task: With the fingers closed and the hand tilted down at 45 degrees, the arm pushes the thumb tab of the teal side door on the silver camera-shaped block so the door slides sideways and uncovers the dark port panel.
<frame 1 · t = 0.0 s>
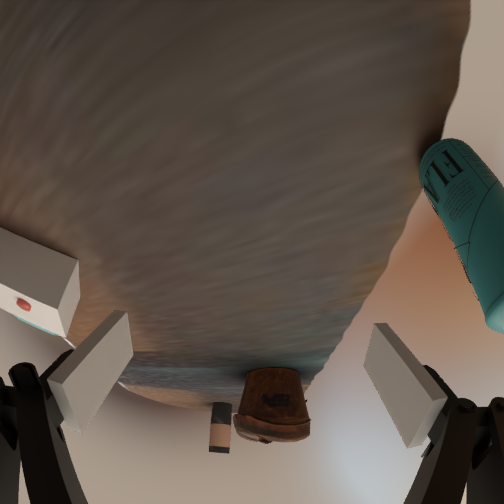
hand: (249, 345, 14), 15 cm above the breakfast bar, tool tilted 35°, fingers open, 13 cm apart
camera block: (32, 260, 36), on the breakfast bar
brown tapered cylinder: (273, 374, 67), on the breakfast bar
travel mug: (222, 403, 99), on the breakfast bar
beverage bottle: (438, 157, 22), on the breakfast bar
door: (42, 309, 39), point 4 cm above the breakfast bar, slide at 0.0 cm
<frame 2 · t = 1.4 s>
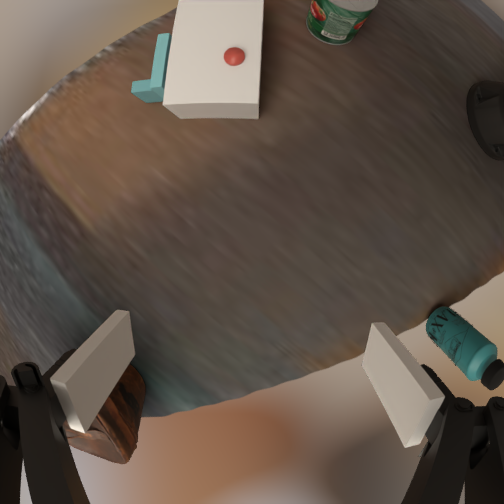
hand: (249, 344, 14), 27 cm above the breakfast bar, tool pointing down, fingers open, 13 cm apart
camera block: (222, 62, 35), on the breakfast bar
canned tomato: (330, 26, 33), on the breakfast bar
brown tapered cylinder: (114, 378, 48), on the breakfast bar
beverage bottle: (434, 318, 43), on the breakfast bar
door: (157, 70, 32), point 4 cm above the breakfast bar, slide at 0.0 cm
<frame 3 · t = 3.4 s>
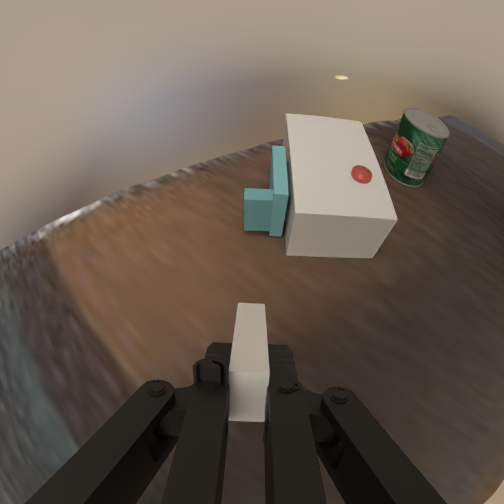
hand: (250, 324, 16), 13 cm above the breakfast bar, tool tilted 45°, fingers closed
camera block: (323, 200, 39), on the breakfast bar
canned tomato: (403, 171, 43), on the breakfast bar
door: (264, 190, 34), point 4 cm above the breakfast bar, slide at 0.0 cm
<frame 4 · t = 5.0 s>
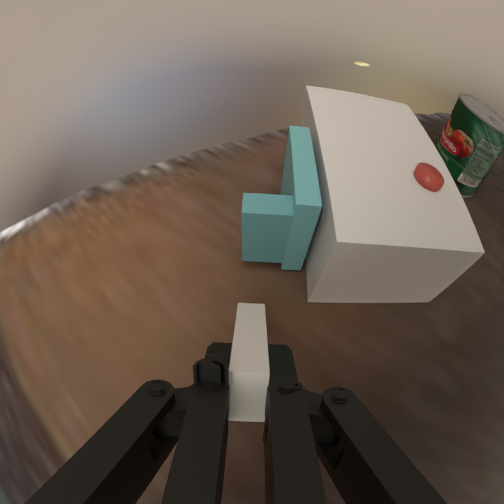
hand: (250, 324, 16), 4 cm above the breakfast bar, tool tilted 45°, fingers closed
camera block: (358, 213, 26), on the breakfast bar
canned tomato: (451, 177, 31), on the breakfast bar
door: (276, 196, 21), point 4 cm above the breakfast bar, slide at 0.0 cm
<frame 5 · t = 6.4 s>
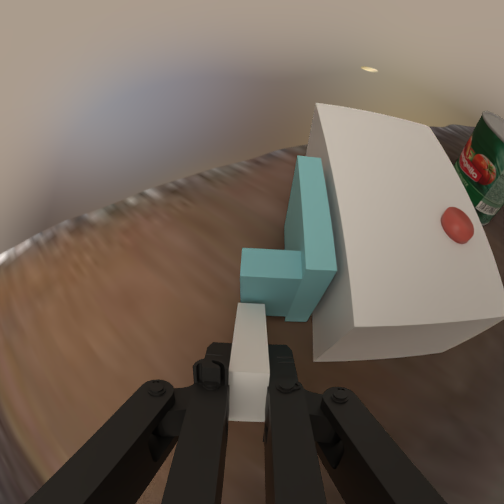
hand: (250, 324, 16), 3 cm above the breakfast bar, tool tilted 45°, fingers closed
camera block: (371, 252, 23), on the breakfast bar
canned tomato: (467, 201, 28), on the breakfast bar
door: (280, 241, 18), point 4 cm above the breakfast bar, slide at 0.3 cm, touching gripper
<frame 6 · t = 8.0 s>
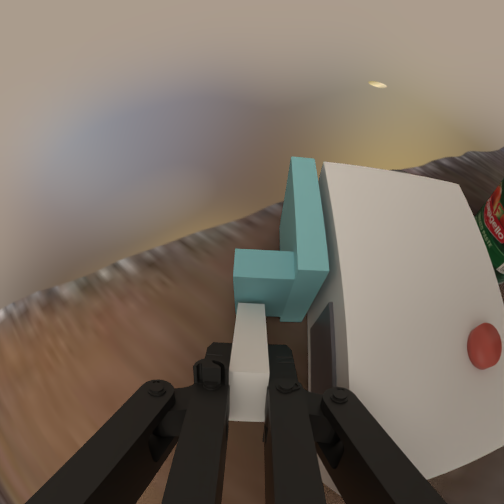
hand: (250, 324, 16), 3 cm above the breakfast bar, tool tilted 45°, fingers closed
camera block: (379, 341, 19), on the breakfast bar
canned tomato: (485, 254, 24), on the breakfast bar
door: (274, 241, 19), point 4 cm above the breakfast bar, slide at 7.9 cm, touching gripper
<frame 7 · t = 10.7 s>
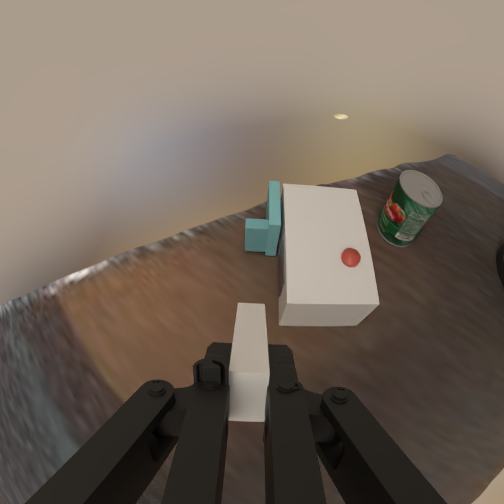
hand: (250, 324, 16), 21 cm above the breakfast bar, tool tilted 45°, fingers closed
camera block: (315, 268, 43), on the breakfast bar
canned tomato: (395, 229, 47), on the breakfast bar
door: (262, 218, 42), point 4 cm above the breakfast bar, slide at 8.1 cm
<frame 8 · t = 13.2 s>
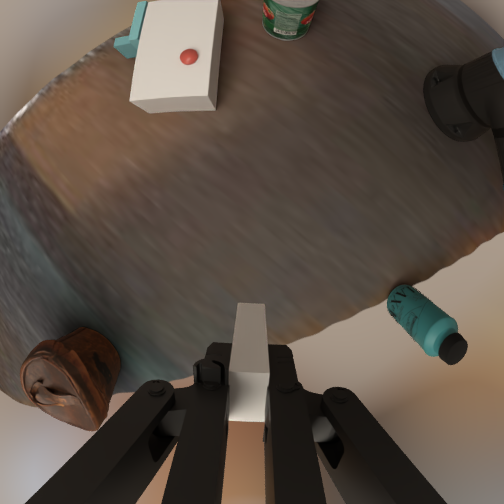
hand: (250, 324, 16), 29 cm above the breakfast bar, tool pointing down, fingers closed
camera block: (186, 62, 39), on the breakfast bar
canned tomato: (285, 24, 37), on the breakfast bar
brown tapered cylinder: (93, 353, 51), on the breakfast bar
beverage bottle: (397, 297, 48), on the breakfast bar
door: (136, 31, 33), point 4 cm above the breakfast bar, slide at 8.1 cm
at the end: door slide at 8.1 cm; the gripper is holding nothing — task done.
